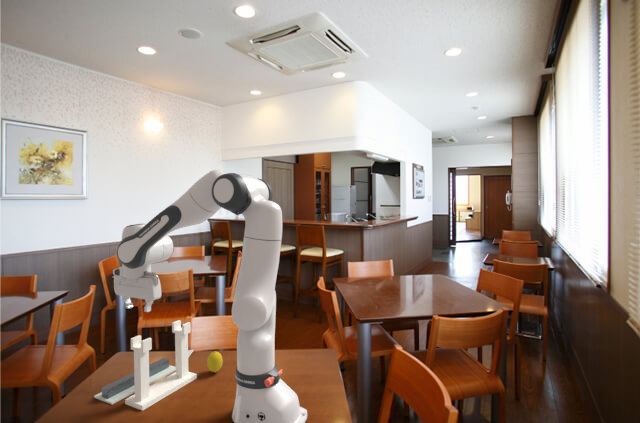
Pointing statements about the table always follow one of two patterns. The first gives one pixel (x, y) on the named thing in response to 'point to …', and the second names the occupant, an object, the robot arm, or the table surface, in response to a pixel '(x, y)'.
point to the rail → (132, 379)
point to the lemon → (214, 361)
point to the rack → (168, 385)
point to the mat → (132, 389)
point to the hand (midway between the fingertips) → (138, 309)
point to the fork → (190, 352)
